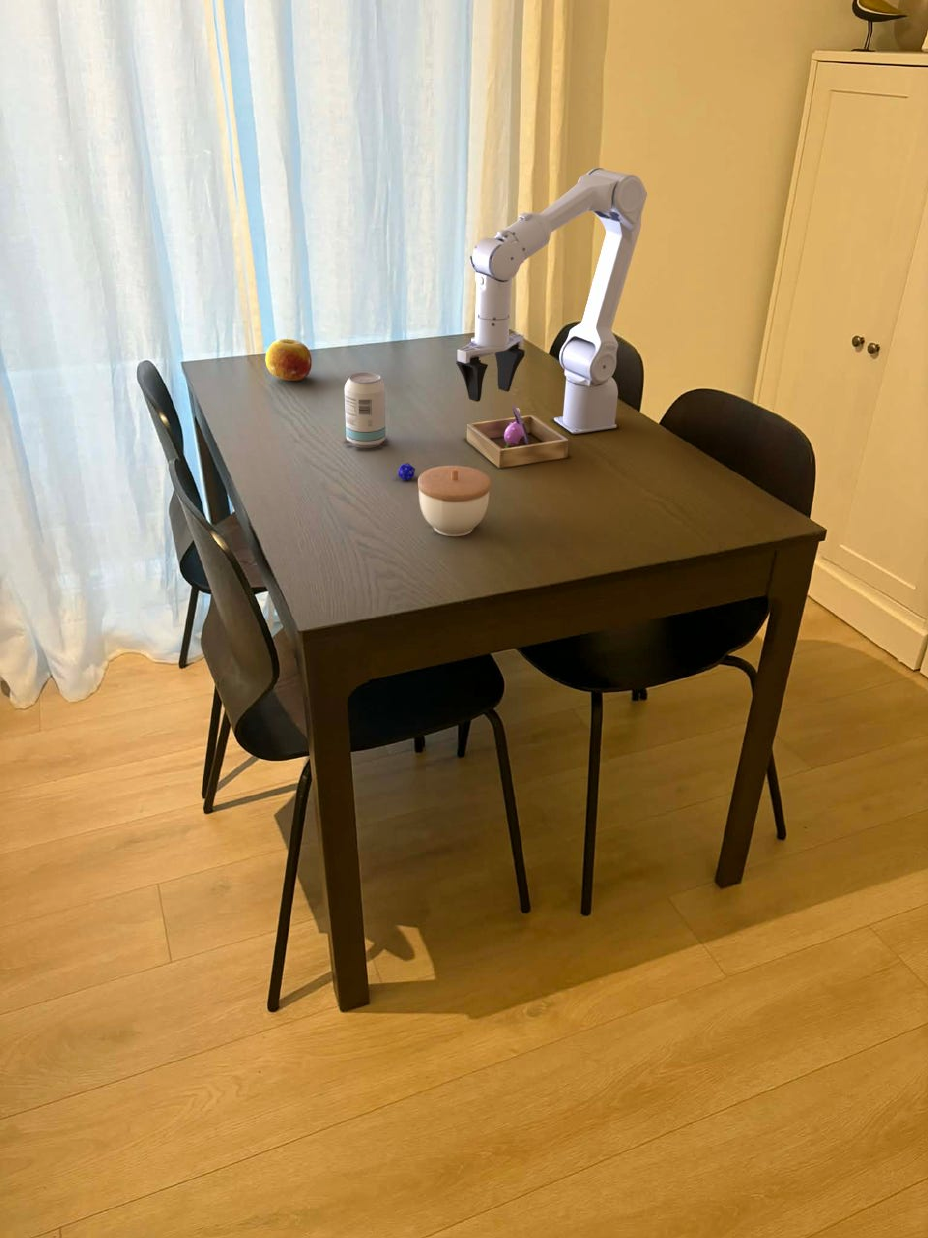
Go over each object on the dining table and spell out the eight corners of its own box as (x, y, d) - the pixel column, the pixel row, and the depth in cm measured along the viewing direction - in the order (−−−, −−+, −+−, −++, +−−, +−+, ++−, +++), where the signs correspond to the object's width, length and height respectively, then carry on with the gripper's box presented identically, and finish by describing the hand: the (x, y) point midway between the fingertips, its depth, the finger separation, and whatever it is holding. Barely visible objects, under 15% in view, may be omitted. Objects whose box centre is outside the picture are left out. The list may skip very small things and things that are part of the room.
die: (394, 480, 162) (396, 462, 163) (408, 483, 164) (410, 465, 164) (402, 478, 160) (404, 460, 160) (416, 481, 161) (418, 463, 162)
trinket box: (497, 518, 151) (500, 461, 146) (475, 548, 142) (477, 489, 137) (432, 506, 154) (433, 450, 149) (407, 536, 145) (406, 477, 140)
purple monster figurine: (528, 421, 168) (517, 403, 175) (499, 432, 168) (490, 413, 175) (538, 456, 171) (527, 436, 179) (510, 466, 172) (500, 446, 179)
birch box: (531, 430, 182) (532, 414, 181) (567, 457, 172) (568, 440, 170) (466, 440, 177) (466, 423, 176) (499, 468, 167) (500, 450, 166)
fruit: (322, 378, 204) (320, 339, 200) (293, 389, 198) (290, 350, 193) (287, 369, 208) (284, 331, 204) (257, 380, 202) (254, 341, 198)
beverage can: (392, 439, 177) (391, 374, 170) (373, 453, 171) (372, 386, 165) (359, 433, 179) (357, 368, 173) (339, 445, 174) (336, 379, 167)
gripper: (503, 303, 169) (500, 379, 177) (444, 318, 160) (443, 398, 168) (534, 311, 165) (529, 389, 173) (476, 327, 156) (473, 409, 164)
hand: (489, 394), depth 170 cm, fingers open, 7 cm apart
